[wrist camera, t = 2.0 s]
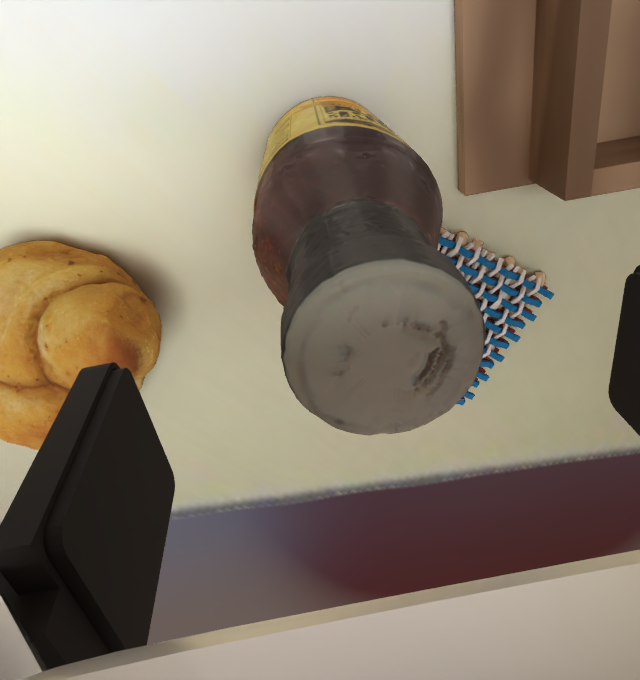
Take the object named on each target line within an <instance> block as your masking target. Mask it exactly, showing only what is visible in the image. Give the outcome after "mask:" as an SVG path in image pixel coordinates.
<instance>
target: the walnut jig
mask: <svg viewBox="0 0 640 680" xmlns="http://www.w3.org/2000/svg"><path fill="white" fill-rule="evenodd" d="M454 9H455V55H456V100H457V145H458V190H459V191H460V192H462V193H463V194H464V195H465V196H468V195H473V194H479V193H484V192H490V191H496V190H501V189H507V188H512V187H518V186H523V185H529V184H535V183H536V184H538V185H539V186H541V187H543V188H544V189H546V190H548V191H549V192H551V193H553V194H554V195H556V196H558V197H559V198H561V199H563V200H564V201H567V200H573V199H578V198H584V197H590V196H595V195H601V194H606V193H612V192H618V191H623V190H629V189H634V188H640V0H454Z"/></svg>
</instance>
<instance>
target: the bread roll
mask: <svg viewBox="0 0 640 680" xmlns="http://www.w3.org/2000/svg"><path fill="white" fill-rule="evenodd" d="M161 328H162V326H161V320H160V316H159V314H158V313H157V311H156V309H155V306H154V304H153V302H152V301H151V300H150V299H149V298H148V297H146V296H145V295H144V294H143V292H142V290H141V289H140V287H139V286H138V285H137V283H136V282H135V281H134V280H133V279H132V278H131V277H130V276H129V275H128V274H127V273H126V272H125V271H124V270H123V269H122V268H120V267H119V266H117V265H116V264H115V263H113V262H112V261H111V260H110V259H109V258H108V257H106V256H104V255H101V254H94V253H91V252H89V251H85V250H81V249H77V248H74V247H71V246H68V245H65V244H61V243H59V242H56V241H31V242H23V243H19V244H16V245H12V246H8V247H4V248H2V249H0V439H2V440H4V441H6V442H9V443H13V444H17V445H21V446H26V447H29V448H31V449H35V450H39V449H40V448H41V446H42V444H43V442H44V440H45V438H46V436H47V434H48V432H49V430H50V428H51V426H52V424H53V422H54V420H55V418H56V416H57V415H58V413H59V411H60V409H61V407H62V405H63V403H64V401H65V399H66V397H67V395H68V393H69V391H70V389H71V387H72V385H73V384H74V382H75V380H76V378H77V376H78V374H79V372H80V370H81V369H82V368H85V367H91V366H96V365H101V364H107V363H112V362H114V363H117V364H118V366H119V367H120V369H122V368H128V369H129V370H130V371H131V373H132V375H133V378H134V380H135V383H136V385H137V387H138V390H140V389H141V387H142V384H143V380H144V378H145V375H146V374H147V373H148V372H149V371H150V370H151V369H152V368H153V367H154V365H155V364H156V361H157V358H158V354H159V350H160V341H161Z"/></svg>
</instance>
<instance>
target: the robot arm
mask: <svg viewBox="0 0 640 680" xmlns="http://www.w3.org/2000/svg"><path fill="white" fill-rule="evenodd" d="M609 398H610V401H611V403H612V405H613V407H614V408H615V410H616V411H617V412H618V413H619V414H620V415H621V416H622V417H623V418H624V419H625V420H626V422H627V423H628V424H629V425H630V426H631V427H632V428H633V429H634V430H635V431H636V432H637V433H638V435H639V436H640V265H639V266H637V267H636V269H635V271H634V273H633V274H630V275H629V276H628V277H627V279H626V283H625V288H624V295H623V301H622V307H621V314H620V320H619V327H618V333H617V339H616V346H615V352H614V358H613V365H612V371H611V378H610V384H609ZM174 491H175V481H174V475H173V472H172V469H171V467H170V464H169V462H168V459H167V457H166V455H165V452H164V450H163V447H162V445H161V443H160V440H159V438H158V435H157V433H156V431H155V428H154V426H153V423H152V421H151V419H150V416H149V414H148V411H147V409H146V407H145V404H144V402H143V399H142V397H141V395H140V392H139V390H138V387H137V385H136V383H135V380H134V378H133V375H132V373H131V371H130V370H129V369H128V368H122V369H120V367H119V366H118V364H117V363H114V362H112V363H107V364H101V365H96V366H91V367H85V368H82V369H81V370H80V372H79V374H78V376H77V378H76V380H75V382H74V384H73V385H72V387H71V389H70V391H69V393H68V395H67V397H66V399H65V401H64V403H63V405H62V407H61V409H60V411H59V413H58V415H57V416H56V418H55V420H54V422H53V424H52V426H51V428H50V430H49V432H48V434H47V436H46V438H45V440H44V442H43V444H42V446H41V448H40V449H39V451H38V453H37V455H36V457H35V459H34V461H33V463H32V465H31V467H30V469H29V471H28V473H27V475H26V477H25V479H24V480H23V482H22V484H21V486H20V488H19V490H18V492H17V494H16V496H15V498H14V500H13V502H12V504H11V506H10V508H9V510H8V512H7V513H6V515H5V517H4V519H3V521H2V523H1V525H0V680H640V550H636V551H631V552H626V553H620V554H615V555H609V556H605V557H599V558H593V559H588V560H582V561H577V562H572V563H566V564H561V565H556V566H550V567H546V568H540V569H535V570H529V571H524V572H518V573H513V574H508V575H503V576H497V577H492V578H486V579H482V580H476V581H471V582H465V583H460V584H455V585H450V586H445V587H439V588H433V589H428V590H423V591H418V592H412V593H407V594H402V595H397V596H391V597H386V598H381V599H377V600H371V601H366V602H360V603H355V604H350V605H345V606H340V607H335V608H329V609H325V610H319V611H314V612H309V613H304V614H299V615H293V616H288V617H283V618H278V619H273V620H267V621H262V622H257V623H252V624H247V625H242V626H237V627H231V628H226V629H222V630H218V631H212V632H207V633H203V634H198V635H193V636H188V637H184V638H179V639H174V640H170V641H165V642H160V643H155V644H151V645H147V640H148V635H149V629H150V624H151V618H152V613H153V607H154V602H155V596H156V591H157V585H158V579H159V574H160V568H161V563H162V557H163V551H164V546H165V541H166V535H167V530H168V524H169V519H170V513H171V508H172V502H173V497H174Z"/></svg>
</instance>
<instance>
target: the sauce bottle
mask: <svg viewBox="0 0 640 680" xmlns="http://www.w3.org/2000/svg"><path fill="white" fill-rule="evenodd" d="M442 212H443V208H442V199H441V194H440V191H439V188H438V185H437V182H436V180H435V178H434V176H433V174H432V172H431V170H430V169H429V167H428V165H427V164H426V163H425V162H424V161H423V159H422V158H421V157H420V156H419V155H418V154H417V153H416V152H415V151H414V150H413V149H412V148H411V147H410V146H409V145H407V144H406V143H405V142H404V141H403V140H401V139H400V138H399V137H398V136H397V135H396V134H395V133H394V132H393V131H392V130H390V129H389V128H388V127H387V126H385V125H384V124H383V123H382V122H381V121H380V120H378V119H377V118H376V117H375V116H374V115H373V114H371V113H370V112H369V111H368V110H367V109H366V108H364V107H362V106H361V105H359V104H357V103H356V102H354V101H351V100H348V99H345V98H340V97H330V96H328V97H317V98H312V99H309V100H307V101H304V102H302V103H300V104H298V105H297V106H295V107H294V108H292V109H291V110H290V111H288V112H287V113H286V114H285V115H284V116H283V117H282V118H281V119H280V120H279V121H278V123H277V124H276V125H275V127H274V129H273V130H272V132H271V134H270V135H269V137H268V141H267V145H266V149H265V153H264V158H263V162H262V166H261V170H260V175H259V180H258V185H257V190H256V195H255V200H254V219H253V224H252V225H253V226H252V227H253V229H252V235H253V250H254V254H255V257H256V262H257V265H258V267H259V269H260V272H261V275H262V277H263V278H264V280H265V282H266V284H267V285H268V287H269V289H270V290H271V291H272V293H273V294H274V295H275V296H276V298H277V300H278V301H279V303H281V304H282V305H283V306H284V310H283V314H282V318H281V358H282V362H283V366H284V372H285V376H286V378H287V381H288V383H289V386H290V388H291V389H292V391H293V393H294V394H295V396H296V398H297V399H298V400H299V401H300V403H301V404H302V405H303V406H304V407H305V408H306V409H308V410H309V411H310V412H311V413H313V414H315V415H316V416H318V417H319V418H321V419H322V420H324V421H325V422H326V423H328V424H330V425H331V426H333V427H335V428H337V429H340V430H344V431H347V432H351V433H355V434H362V435H374V434H380V433H387V434H392V433H400V432H405V431H410V430H413V429H415V428H418V427H420V426H422V425H425V424H427V423H429V422H430V421H432V420H434V419H436V418H437V417H439V416H441V415H442V414H444V413H446V412H447V411H449V410H450V409H451V408H452V407H453V406H454V405H455V404H456V403H457V402H458V401H459V400H460V399H461V398H462V397H463V396H464V395H465V394H466V393H467V391H468V389H469V387H470V386H471V385H472V384H473V383H474V381H475V379H476V376H477V374H478V371H479V366H480V364H481V361H482V358H483V352H484V345H485V340H486V330H485V323H484V319H483V316H482V313H481V309H480V306H479V303H478V300H477V299H476V297H475V295H474V294H473V292H472V291H471V288H470V287H469V285H468V283H467V282H466V280H465V278H464V276H463V275H462V274H461V273H460V271H459V270H458V269H457V268H456V266H455V265H454V264H453V262H452V261H451V260H450V259H449V258H448V257H447V256H446V255H444V254H443V253H441V252H440V251H438V250H437V249H438V242H439V236H440V229H441V223H442Z"/></svg>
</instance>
